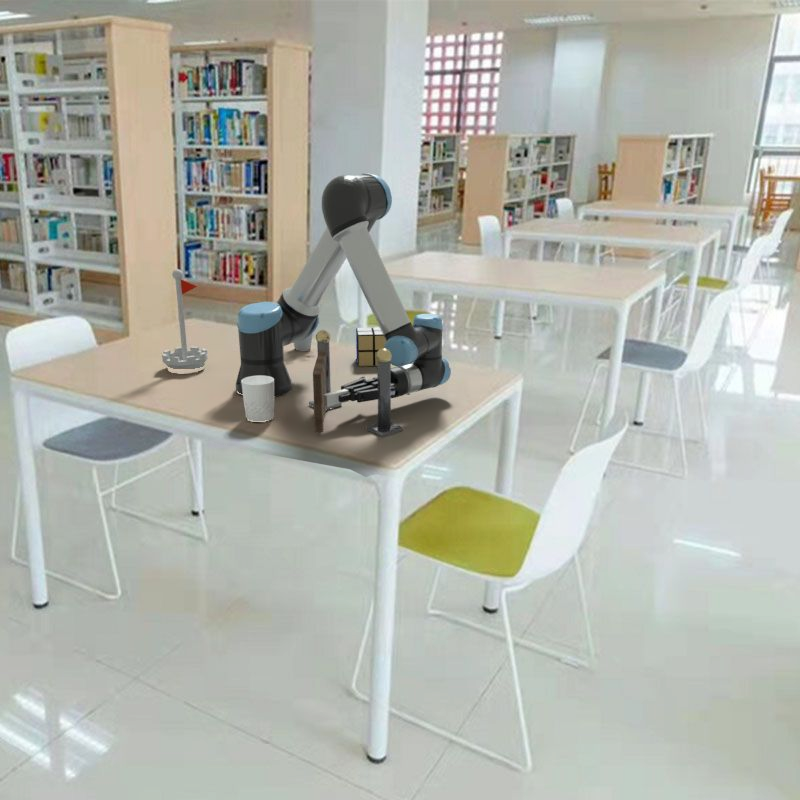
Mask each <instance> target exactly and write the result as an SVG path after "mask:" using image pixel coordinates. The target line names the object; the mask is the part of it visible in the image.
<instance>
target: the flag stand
mask: <svg viewBox="0 0 800 800" xmlns="http://www.w3.org/2000/svg"><path fill="white" fill-rule="evenodd" d="M183 275H184V273H183V271H182V270H181V269H173V271H172V275H171V276H172V277H173V279H175V280H174V281H175V288H176V289H175V290H176V300H177V311H178V320H179V321H178V323H179V333H180V343H181V346H178V347H174V348H173V349H174V351H172V352H171V349H166V350H163V351H162V353H161V358H162V362H163V363H162V364H165V365H166V367H167V366H168V367H170V368H173V369H195V368H200V367H203V366H204V365H206V363H205V362H207V360H208V359H209V358H208V350H207V348H201V350H200V347H199V346H190V347H189V350H188V344H187V333H186V322H185V313H184V312H185V311H184V301H183V295H185V294H186V293H188V292H189V291H192V290H193V289H195V288H197V285H195V284H192V283H190V282H188V281H185V280H183ZM181 360H183V361H181Z"/></svg>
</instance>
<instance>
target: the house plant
mask: <svg viewBox="0 0 800 800" xmlns="http://www.w3.org/2000/svg"><path fill="white" fill-rule="evenodd" d="M319 305H320V309H321V308H322V307H321V306H322V304H319ZM318 325H321V324H320V322H319V323H318ZM313 334H314V332H313V333H312V334H311V335H310V336H308V337H307V338H305V339H303V340H300V341H296V342H294V343H293V346H294V350H295V349H296V350H295V351H297V350H300V351H299V352H303V351H302V350H308V351H310V350H311V349H312V343H313V342H312V341H313ZM309 349H310V350H309Z"/></svg>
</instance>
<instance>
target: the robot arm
mask: <svg viewBox="0 0 800 800" xmlns="http://www.w3.org/2000/svg"><path fill="white" fill-rule="evenodd" d="M389 186H390V185H388V183H387V182H386V181H385V180H384V179H383V177H381V176H379V175H377V174H371V173H365V172H364V173H360V174H349V175H348V174H346V175H345V174H343V175H338V176H337V177H334V178H333V179H331V180H330V181H329V182H328V183H327V184H326V186H324V187H325V188H324V190H323V191H322V195H321V211H322V215H323V216H322V217H323V219H324V222H325V226H326V228H325V229H324V231H323V232H322V235H321V237H320V238H319V239H318V242H317V244H316V245H315V246H314V249H313V250H312V252H311V253H310V255H309V257H308V259H307V260H306V262H305V264H304V266H303V268H302V270H301V271H300V273H299V274H298V276H297V278H296V280H295V281H294V283H293V285H292V287H287V288H285V289H283V291H282V293H281V295H280V296H279V299H278V300H277V302H273V301H259V302H257V303H255V302H254V303H250V304H247V305H245V306H243V307H242V308H241V309H240V310H239V312H238V313H237V330H238V331H237V332H238V343H239V355H240V357H239V358H240V366H239V370H238V374H237V377H236V382H235V391H236V390H237V391H238V392H239V393H241V394H243V392H242V384H241V380H242V379H244V378H246V377H250V376H258V375H263V376H270V377H273V378H274V396H275V397H280V396H284V395H286V394H289V393H290V392H291V391H292V389H293V387H292V386H293V385H292V378H291V377H290V374H289V371H288V369H287V366H286V364H285V355H284V353H285V352H284V347H286V346H288V345H290V344H294V342H296V341H300V340H303V339H305V338H307V337H308V336H310V335H311V334H312V333H313V334H314V332H315V331H316V330H317V328H318V326H319V323H320V322H319V321H320V317H319V316H320V313H321V310H322V309H321V308H320V307H321V306H320V305H321V304H320V302H321V300H322V299H323V297H324V295H325V294H326V293H327V291H328V290H329V288H330V286H331V285H332V283H333V281H334V279H335V277H336V276H337V274H338V273H339V272H340V270H341V268H342V266H343V264H344V263H345V261H346V260H347V262H348V265H349V266H350V268H351V270H352V272H353V275H354V277H355V278H356V280H357V281H356V282H357V283H358V284H359V288H360V289H361V291H362V293H363V296H364V297H365V300H366V302H367V304H368V305H369V308H370V310H371V312H372V314H373V316H374V319H375V321H376V322H377V324H378V327H380V329H381V331H382V333H383V335H384V337H385V340H386V343H385V345H384V348H386V349H388V350H389V351H390V352H391V354H392V358H391V365H392V366H394V367H391V399H395V398H398V397H403V396H404V395H407V396H410V395H411V394H412V393H416V392H420V391H424V390H427V389H431V388H437V387H439V386H441V385H443V384H446V383H447V382H449V380H450V378H451V375H452V370H451V369H452V368H451V367H450V363H449V361H448V360H447V359H446V358H445V357H443V331H444V329H443V318H442V317H441V316H440V315H439V314H435V313H420V314H416V315H414V317H413V322H411V320H410V318H409V316H408V313H407V311H406V309H405V307H404V305H403V302H402V301H401V298H400V296H399V294H398V292H397V290H396V288H395V286H394V283H393V281H392V279H391V277H390V275H389V273H388V270H387V268H386V267H385V264H384V262H383V259H382V258H381V256H380V254H379V253H380V252H378V249H377V248H376V245H375V243H374V241H373V239H372V236H371V234H370V231H371V229H372V228H373V227H374V225H375V223H376V222H377V221H378V220H382V219H383V218H384V217H385V216H387V215H388V213H389V212H390V210H391V208H392V203H393V197H392V192H391V188H390V187H389ZM313 334H312V335H313ZM275 397H274V398H275ZM376 400H377V401H378V376H374V377H372V378H370V379H366V377H365V376H360V377H359V378H358V379H355V380H353V381H350V382H348V383H345V384H343V385H341V386H340V390H339V389H338V390H335V391H331V393H327V394H323V404H324V406H327V407H328V406H332V405H336V404H340V403H342V404H343V403H346V402H355V401H356V402H357V403H358V404H359V403H365V402H370V401H376Z"/></svg>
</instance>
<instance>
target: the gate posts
mask: <svg viewBox="0 0 800 800" xmlns="http://www.w3.org/2000/svg"><path fill="white" fill-rule="evenodd" d="M315 340H316V343H317V346H316V347H317V354H318V353H319V350H327V354H326V387H327V393H331V392H332V391H331V389H332V388H331V384H332V383H331V359H330V358H331V357H330V354H331V352H330V340H331V334H330V333H329V331H327V330H324V329H322V330H318V332H317V333H316V335H315ZM376 358H377V362H378V366H377V377H378V399H377V422H376V423H372V424H370V425H366V431H368V432H370V433H373V434H375V435H378V436H379V437H382V438H384V437H387V436H390V435H393V434H394V435H395V434H397V433H400V432H402V431H403V426H401V425H398V424H395V423H393V422H392V421H391V420H392V417H391V415H392V413H391V412H392V411H391V410H392V409H391V408H392V407H391V405H392V401H391V399H392V398H391V368H392V366H391V365H392V364H391V358H392V354H391V352H390V351H389V350H388V349H386V348H382V349H380V350H379V351H378V352H377V354H376ZM342 404H343V403H340V404H336V405H332V406H328V407H327V406H326V409H329V410H331V409H330V408H333V409H336V408H335V407H337V408H340V407H339V406H341V407H342ZM309 405H311V406H313V407H312V408H314V400H311V401H308V406H309ZM311 406H310V407H311Z"/></svg>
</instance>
